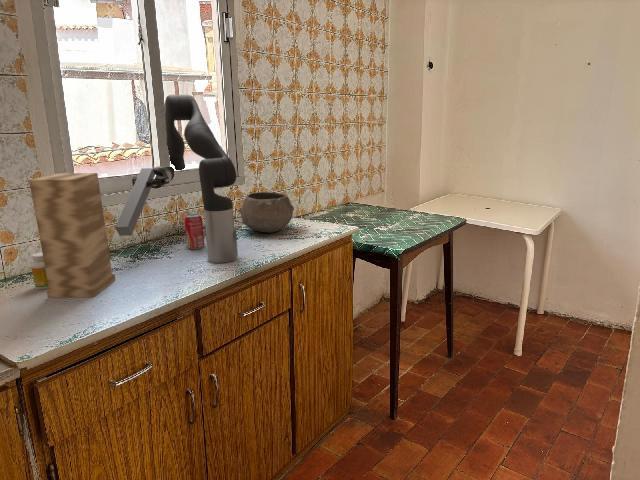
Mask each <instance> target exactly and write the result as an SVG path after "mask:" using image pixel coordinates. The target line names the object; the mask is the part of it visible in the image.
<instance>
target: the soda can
mask: <svg viewBox="0 0 640 480" xmlns="http://www.w3.org/2000/svg"><path fill="white" fill-rule="evenodd" d="M183 222H184V231H185V240H186V241H185V242H186V243H185V244H186V248H188V249H189V250H200V249H203V248H204V247H205V246H206V245H205V244H206V243H205V236H204V226H203V225H204V224H203V222H204V221H203V218H202V216H201V214H200V213H189V214H186V215H185V216H184V220H183Z"/></svg>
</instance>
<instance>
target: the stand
mask: <svg viewBox="0 0 640 480" xmlns="http://www.w3.org/2000/svg"><path fill="white" fill-rule="evenodd" d="M98 175H99V174H98V172H76V173H72V172H70V173H63V172H62V173H53V174H49V175H48V174H47V175H44V176H40V177H37V178H32V179H29V180H28V181H29V182H28V183H29V187H30V194H31V198H32V199H31V200H32V204H33V211H34V215H35V220H36V225H37V230H38V231H37V232H38V236H39V240H40V242H39V243H40V248H41V253H43V259H44V264H45V269H46V275H47V280H48V286H49V288H47V289H45V290H46V296H47V298H95V297H96V296H99V294H100V293H101V292H103V291H104V290H105V289H106V288H108V287H109V286H110V285H112V284H113V283H114V282H115V281H116V274H115V273H113V271H112V270H113V269H112V263H111V257H110V256H111V255H110V250H109V244H108V237H107V229H106V221H105V216H104V210H103V209H104V208H103V202H102V195H101V188H100V183H99V182H100V181H99V176H98Z"/></svg>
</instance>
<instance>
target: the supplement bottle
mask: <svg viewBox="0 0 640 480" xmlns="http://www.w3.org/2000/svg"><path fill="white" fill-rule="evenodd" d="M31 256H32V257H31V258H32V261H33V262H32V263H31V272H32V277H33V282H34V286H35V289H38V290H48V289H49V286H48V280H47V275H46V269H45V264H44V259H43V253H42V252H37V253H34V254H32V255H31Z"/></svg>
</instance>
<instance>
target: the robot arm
mask: <svg viewBox="0 0 640 480" xmlns="http://www.w3.org/2000/svg"><path fill="white" fill-rule="evenodd" d="M164 118H165V119H164V121H165V131H166V135H165V136H166V144H167V146H168V150H169V155H170V161H171V164H173V165H174V166H175V169H176V170H182V169H184V168H185V166H186V163H185V155H184V154H185V149H186V147H185V141H186V143H187V145H188V147H189V148H190V150H191V151H192V152H193V153H194V154H196V155H197V156H199V157H201V158H202V159H201V160H200V161H199V165H198V175H199V181H200V182H199V183H200V190H201V198H202V206H203V215H204V226H205V227H204V229H205V237H206V248H207V260H208V261H209V262H211V263H213V264H215V263H216V264H223V263H229V262H230V263H231V262H235V261H236V260H237V258H238V255H239V254H238V239H237V229H236V228H235V222H234V221H235V220H234V208H233V200H232V199H231V198H230V197H227V196H222V195H219V194H217V193H215V189H217V188H225V187H230V186H233V185H234V184H235V183H236V181H237V170H236V167H235V164H234V163H233V161H232V159H231V158H230V157H229V155H228V154H227V153H226V152H225V150H224V149H223V148H222V146H221V145H220V144H219V142H218V141H217V139H216V137H215V135H214V133H213V131H212V130H211V128H210V126H209V125H208V123H207V122H206V120H205V118H204V117H203V115H202V112H201V109H200V107H199V105H198V103H197V100H196V99H195V97H194V96H192V95H190V94H168V95H167V96H166V97H165V102H164ZM176 121H188V122H187V124H186V125H185V127H184V132H183V136H182V135H181V133H180V132H179V131H178V129H177V127H176V125H175V122H176ZM183 137H184V138H183ZM184 139H185V140H184ZM152 169H153V171H154V174H155V176H154V177H153V178H152V179H151V180H148V181H146V184H147V187H151V186H152V187H151V189H161V188H162V187H164V186H166V185H167V184H168V185H169V184H170V183H171V182H172V181H173V180H172V179H173V177H174V169H173V168H172V167H162V166H161V165H159V166H155V167H152ZM137 177H138V176H133V177H132V178H131V182H132V187H133V186H134V184H135V182H136V180H137ZM171 180H172V181H171ZM170 181H171V182H170Z"/></svg>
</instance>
